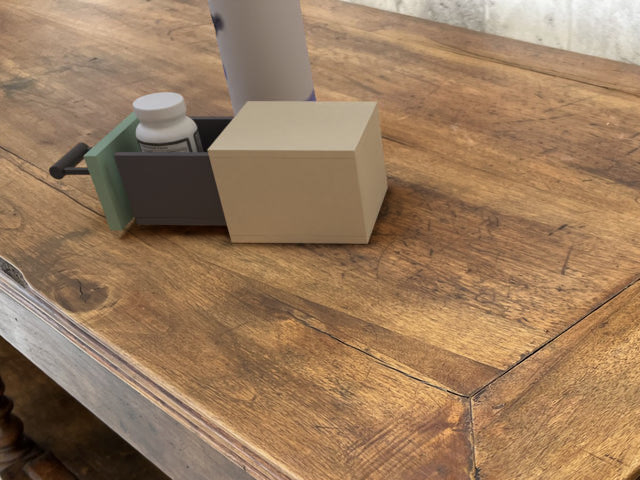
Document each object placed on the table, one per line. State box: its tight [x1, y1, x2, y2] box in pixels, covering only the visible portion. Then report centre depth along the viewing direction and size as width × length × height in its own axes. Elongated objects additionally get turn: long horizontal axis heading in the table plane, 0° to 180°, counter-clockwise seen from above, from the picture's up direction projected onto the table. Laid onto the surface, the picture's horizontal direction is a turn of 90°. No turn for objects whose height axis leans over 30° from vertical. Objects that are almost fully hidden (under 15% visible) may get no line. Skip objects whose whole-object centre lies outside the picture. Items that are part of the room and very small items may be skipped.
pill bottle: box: [132, 91, 204, 152], centre depth 80 cm, size 6×6×10 cm
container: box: [207, 0, 317, 116], centre depth 94 cm, size 10×10×20 cm
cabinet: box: [208, 100, 388, 245], centre depth 80 cm, size 14×13×10 cm
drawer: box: [48, 111, 235, 232], centre depth 81 cm, size 18×11×8 cm, turn 88°
